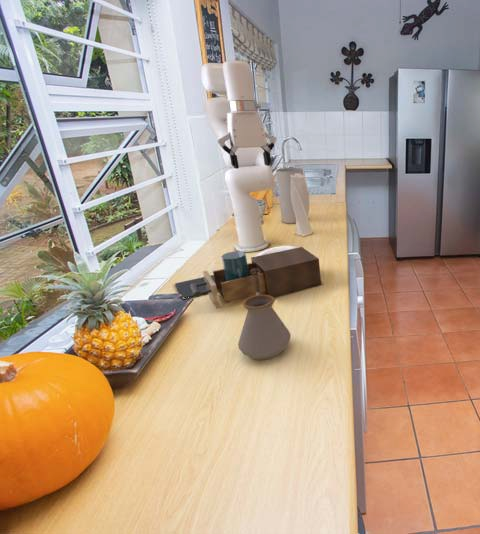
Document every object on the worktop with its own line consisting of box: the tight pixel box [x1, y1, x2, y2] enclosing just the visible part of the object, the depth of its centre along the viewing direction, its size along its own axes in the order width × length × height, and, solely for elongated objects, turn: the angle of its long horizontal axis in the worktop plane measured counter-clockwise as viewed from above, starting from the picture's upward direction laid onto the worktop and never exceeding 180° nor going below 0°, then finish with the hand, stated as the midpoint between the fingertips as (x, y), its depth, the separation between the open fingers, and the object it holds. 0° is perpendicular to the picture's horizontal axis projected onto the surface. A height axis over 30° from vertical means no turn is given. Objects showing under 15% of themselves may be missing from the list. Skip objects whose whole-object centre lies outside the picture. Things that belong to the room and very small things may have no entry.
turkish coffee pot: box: [237, 268, 292, 361], centre depth 91 cm, size 21×12×15 cm, turn 21°
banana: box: [254, 245, 299, 257], centre depth 140 cm, size 5×19×15 cm
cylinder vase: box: [275, 167, 304, 225], centre depth 188 cm, size 12×12×25 cm
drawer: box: [190, 262, 267, 310], centre depth 113 cm, size 20×13×7 cm, turn 125°
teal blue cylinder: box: [221, 250, 249, 281], centre depth 112 cm, size 8×6×11 cm
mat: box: [175, 274, 215, 299], centre depth 122 cm, size 13×13×1 cm
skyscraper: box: [291, 169, 314, 237], centre depth 167 cm, size 8×8×28 cm
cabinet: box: [250, 246, 322, 298], centre depth 122 cm, size 17×14×9 cm
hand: (252, 166), depth 121 cm, fingers open, 9 cm apart
